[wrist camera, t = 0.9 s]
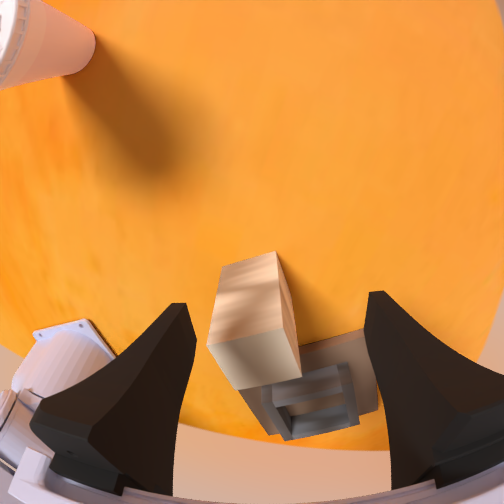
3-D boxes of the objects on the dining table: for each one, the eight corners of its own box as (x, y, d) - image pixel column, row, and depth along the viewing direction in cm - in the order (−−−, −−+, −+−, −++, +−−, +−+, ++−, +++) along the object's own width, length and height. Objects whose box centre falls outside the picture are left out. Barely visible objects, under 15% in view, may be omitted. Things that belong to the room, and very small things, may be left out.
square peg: (241, 308, 24) (235, 390, 17) (222, 266, 22) (206, 345, 15) (291, 295, 23) (302, 376, 16) (275, 250, 21) (282, 327, 14)
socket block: (268, 428, 32) (268, 452, 29) (226, 362, 27) (223, 392, 24) (376, 403, 30) (383, 427, 27) (368, 326, 25) (379, 355, 21)
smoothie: (40, 28, 13) (-110, 22, 1) (112, -3, 13) (-38, -65, 1) (43, 103, 16) (-118, 147, 4) (115, 78, 16) (-68, 86, 4)
